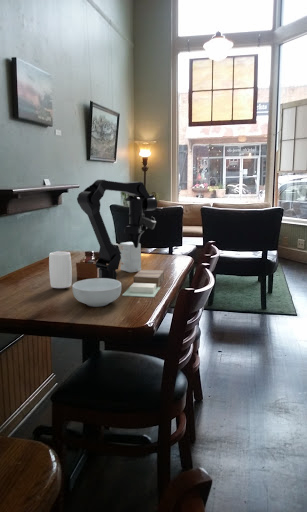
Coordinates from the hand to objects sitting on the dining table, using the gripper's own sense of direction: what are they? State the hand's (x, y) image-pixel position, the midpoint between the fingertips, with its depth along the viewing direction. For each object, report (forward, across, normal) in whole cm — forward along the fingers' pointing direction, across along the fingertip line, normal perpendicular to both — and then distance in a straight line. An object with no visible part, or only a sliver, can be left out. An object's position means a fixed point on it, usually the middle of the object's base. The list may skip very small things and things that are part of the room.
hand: (136, 247), depth 184 cm
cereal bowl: (+13, -42, +4) cm, 44 cm away
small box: (+13, +12, +6) cm, 19 cm away
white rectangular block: (+11, -23, -8) cm, 26 cm away
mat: (+13, -24, -8) cm, 28 cm away
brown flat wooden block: (+13, -10, -8) cm, 18 cm away
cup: (+13, -25, +25) cm, 38 cm away
